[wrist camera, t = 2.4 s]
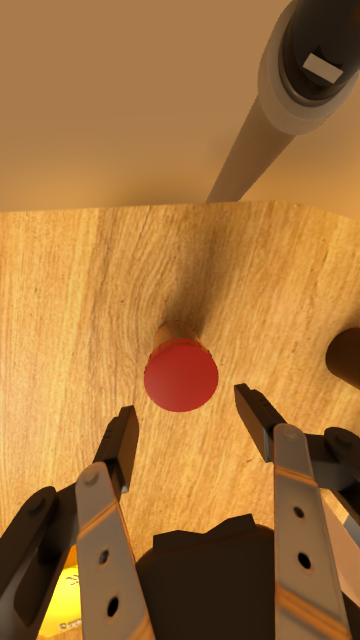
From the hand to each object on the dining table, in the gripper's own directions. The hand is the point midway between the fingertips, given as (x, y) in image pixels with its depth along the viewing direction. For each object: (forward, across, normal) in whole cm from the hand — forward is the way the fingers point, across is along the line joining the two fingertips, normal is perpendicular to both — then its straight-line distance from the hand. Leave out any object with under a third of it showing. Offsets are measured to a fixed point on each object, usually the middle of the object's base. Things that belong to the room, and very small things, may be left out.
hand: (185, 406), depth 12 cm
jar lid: (+3, 0, 0) cm, 3 cm away
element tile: (+14, +27, +41) cm, 51 cm away
